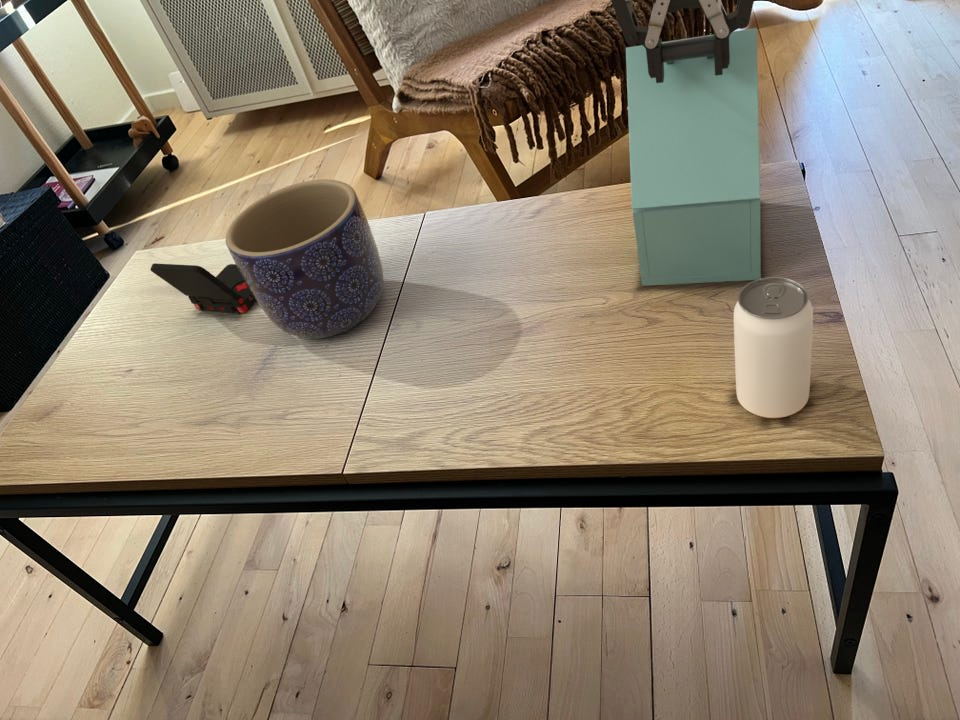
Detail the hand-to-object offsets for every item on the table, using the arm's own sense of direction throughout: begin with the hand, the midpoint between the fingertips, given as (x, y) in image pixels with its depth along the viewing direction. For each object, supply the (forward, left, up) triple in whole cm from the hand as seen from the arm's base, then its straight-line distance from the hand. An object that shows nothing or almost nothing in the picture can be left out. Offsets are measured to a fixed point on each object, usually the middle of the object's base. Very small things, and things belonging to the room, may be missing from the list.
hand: (689, 75), depth 78 cm
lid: (0, 0, -5) cm, 5 cm away
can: (-7, +23, -22) cm, 33 cm away
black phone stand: (+64, +3, -22) cm, 68 cm away
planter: (+46, +7, -22) cm, 52 cm away
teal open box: (0, -3, -22) cm, 22 cm away
